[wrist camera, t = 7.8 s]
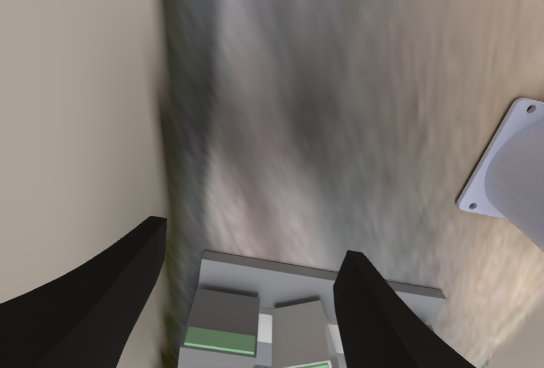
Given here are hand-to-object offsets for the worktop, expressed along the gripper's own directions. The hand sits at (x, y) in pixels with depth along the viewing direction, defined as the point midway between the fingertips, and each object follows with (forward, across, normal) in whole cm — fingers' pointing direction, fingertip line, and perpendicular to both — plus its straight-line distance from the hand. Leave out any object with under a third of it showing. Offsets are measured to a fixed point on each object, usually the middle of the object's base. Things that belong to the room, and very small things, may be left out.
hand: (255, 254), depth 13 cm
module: (+8, -7, +15) cm, 18 cm away
